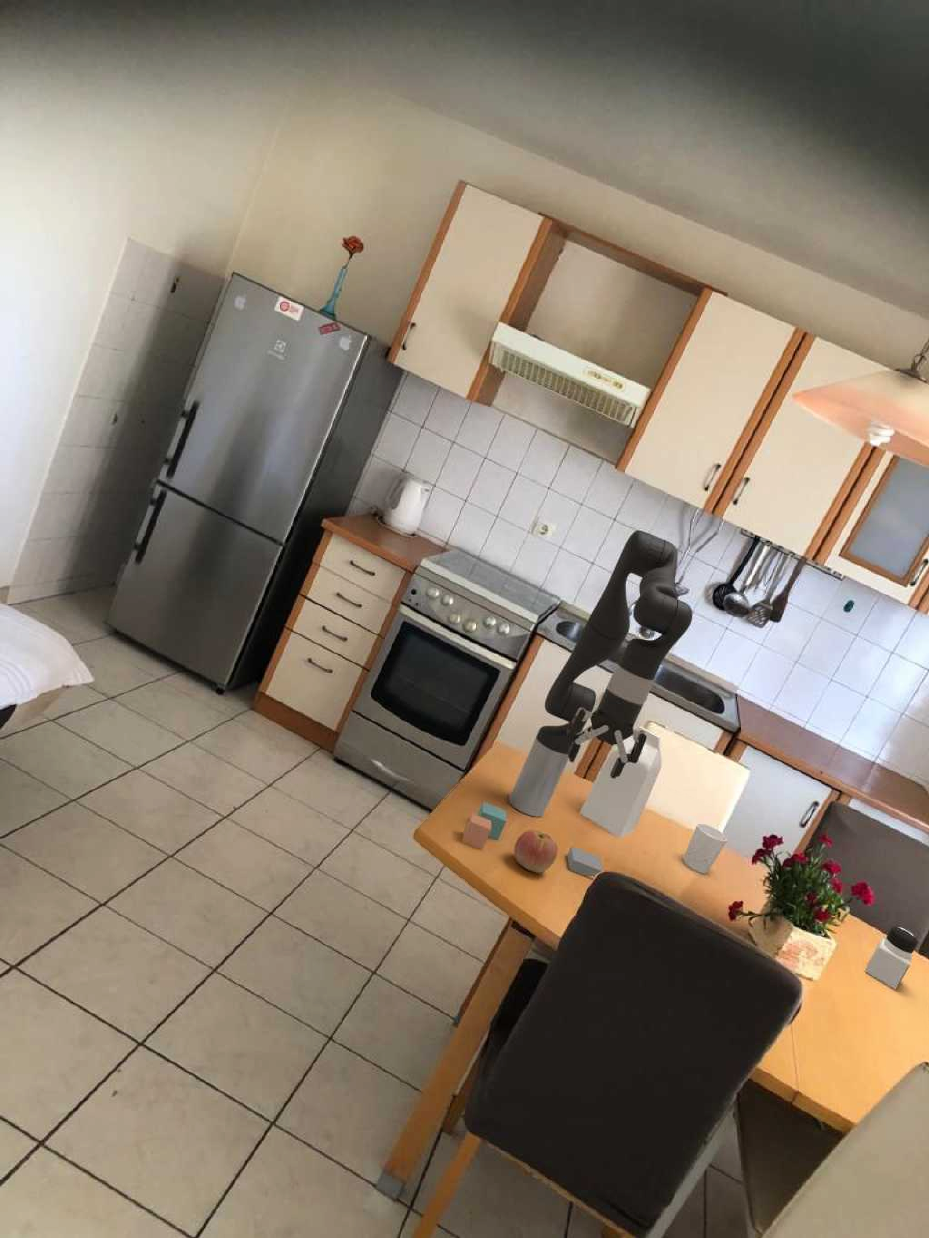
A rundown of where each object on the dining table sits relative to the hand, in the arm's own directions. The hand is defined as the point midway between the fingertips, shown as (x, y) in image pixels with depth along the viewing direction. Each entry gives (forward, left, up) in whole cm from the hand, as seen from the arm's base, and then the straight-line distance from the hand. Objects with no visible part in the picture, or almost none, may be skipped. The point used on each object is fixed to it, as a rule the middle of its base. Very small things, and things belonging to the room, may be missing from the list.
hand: (591, 768), depth 183 cm
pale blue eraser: (-23, +13, -29) cm, 39 cm away
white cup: (-50, +46, -30) cm, 74 cm away
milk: (-57, +23, -30) cm, 68 cm away
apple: (-13, 0, -30) cm, 32 cm away
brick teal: (-23, -10, -29) cm, 39 cm away
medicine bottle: (-28, +88, -30) cm, 97 cm away
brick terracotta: (-15, -13, -29) cm, 36 cm away
